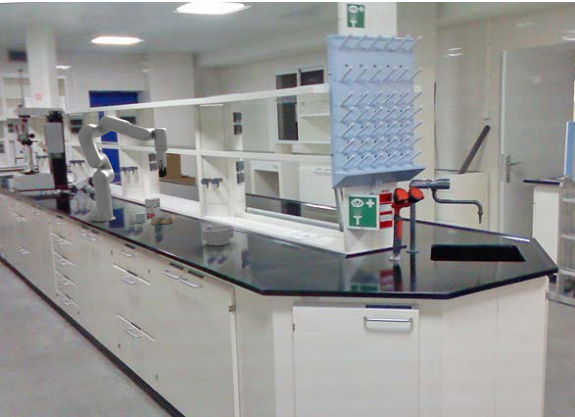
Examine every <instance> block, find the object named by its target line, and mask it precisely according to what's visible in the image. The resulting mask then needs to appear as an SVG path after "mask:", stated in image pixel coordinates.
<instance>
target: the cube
mask: <svg viewBox="0 0 575 417" xmlns="http://www.w3.org/2000/svg"><path fill="white" fill-rule="evenodd" d="M134 216H135V222H136V223H135V224H137V223H139V224H141V223H146V222H148V217H147V213H146V211H142V212H141V211H140V212H138V211H137V212H136V213H135V215H134Z"/></svg>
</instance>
